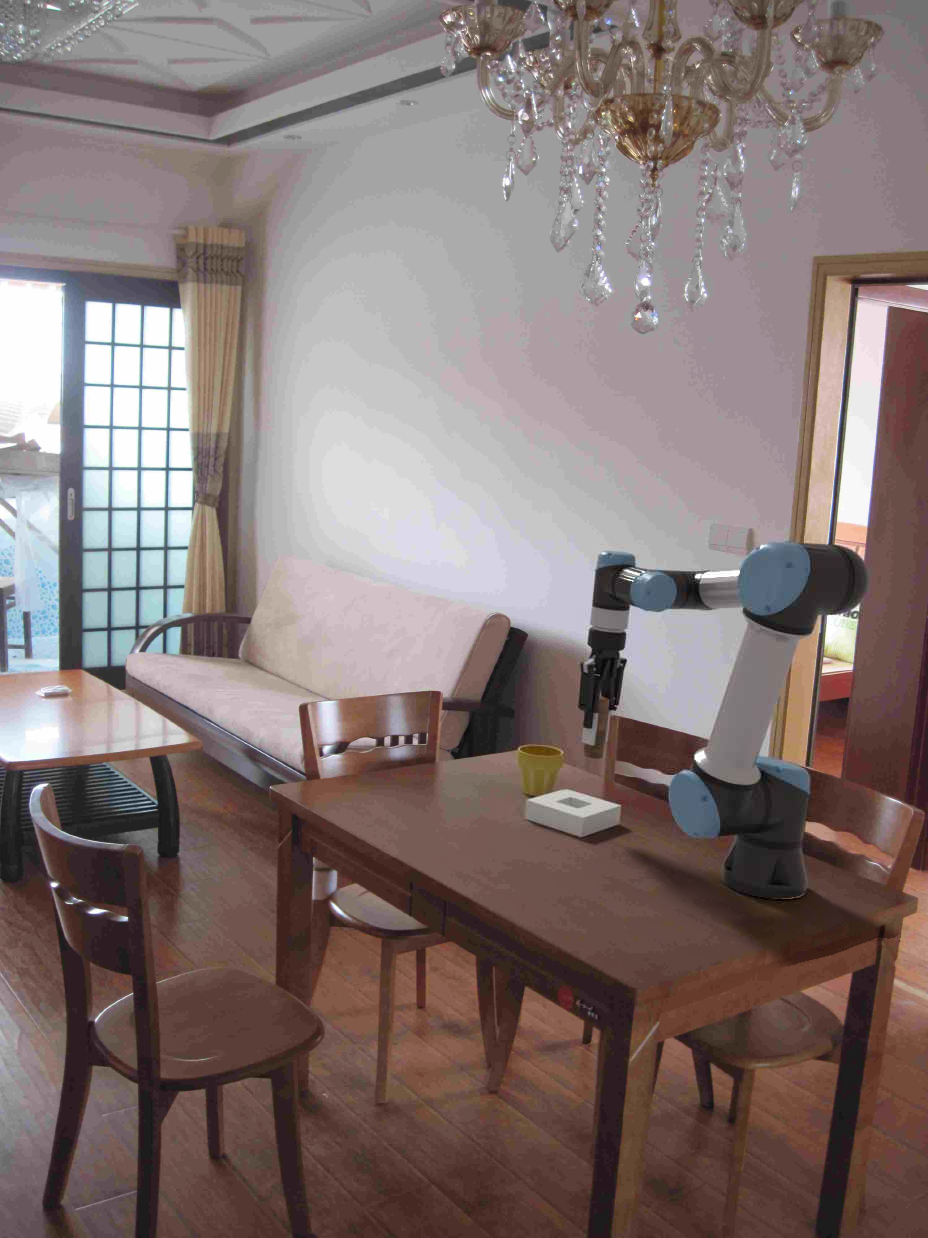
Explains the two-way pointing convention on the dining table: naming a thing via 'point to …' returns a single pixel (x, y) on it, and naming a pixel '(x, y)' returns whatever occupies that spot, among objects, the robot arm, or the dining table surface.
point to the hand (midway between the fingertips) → (594, 741)
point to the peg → (599, 731)
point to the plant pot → (539, 768)
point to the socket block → (572, 812)
